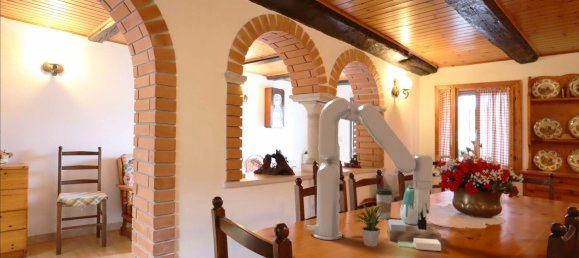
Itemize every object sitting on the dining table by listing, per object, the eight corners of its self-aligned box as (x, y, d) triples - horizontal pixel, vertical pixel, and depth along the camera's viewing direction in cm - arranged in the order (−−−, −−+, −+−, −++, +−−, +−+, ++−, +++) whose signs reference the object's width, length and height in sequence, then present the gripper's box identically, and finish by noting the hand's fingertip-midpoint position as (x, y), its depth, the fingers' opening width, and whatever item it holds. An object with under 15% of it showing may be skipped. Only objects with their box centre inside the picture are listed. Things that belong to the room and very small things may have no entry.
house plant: (363, 236, 150) (364, 198, 150) (394, 242, 141) (394, 202, 141) (346, 243, 139) (347, 203, 139) (379, 251, 130) (379, 208, 130)
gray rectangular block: (405, 231, 144) (405, 225, 144) (390, 230, 145) (391, 224, 145) (402, 225, 152) (402, 220, 152) (388, 224, 154) (388, 219, 154)
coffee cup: (393, 217, 185) (394, 189, 185) (389, 220, 178) (389, 191, 178) (378, 215, 189) (379, 187, 189) (373, 218, 182) (374, 189, 182)
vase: (420, 227, 165) (420, 190, 165) (396, 223, 172) (396, 187, 172) (427, 223, 174) (427, 187, 174) (404, 219, 181) (404, 185, 181)
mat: (399, 246, 136) (399, 245, 136) (397, 241, 143) (397, 240, 143) (431, 249, 134) (431, 248, 134) (428, 243, 140) (428, 242, 140)
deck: (389, 241, 143) (390, 231, 143) (387, 232, 155) (387, 224, 155) (441, 244, 140) (441, 234, 140) (434, 236, 151) (434, 227, 151)
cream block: (413, 237, 138) (413, 244, 138) (416, 242, 132) (416, 249, 132) (437, 239, 137) (437, 245, 137) (441, 244, 131) (441, 250, 131)
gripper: (410, 182, 151) (409, 224, 151) (416, 187, 137) (415, 233, 136) (428, 182, 150) (427, 225, 150) (436, 188, 135) (435, 234, 135)
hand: (422, 229), depth 143 cm, fingers closed
